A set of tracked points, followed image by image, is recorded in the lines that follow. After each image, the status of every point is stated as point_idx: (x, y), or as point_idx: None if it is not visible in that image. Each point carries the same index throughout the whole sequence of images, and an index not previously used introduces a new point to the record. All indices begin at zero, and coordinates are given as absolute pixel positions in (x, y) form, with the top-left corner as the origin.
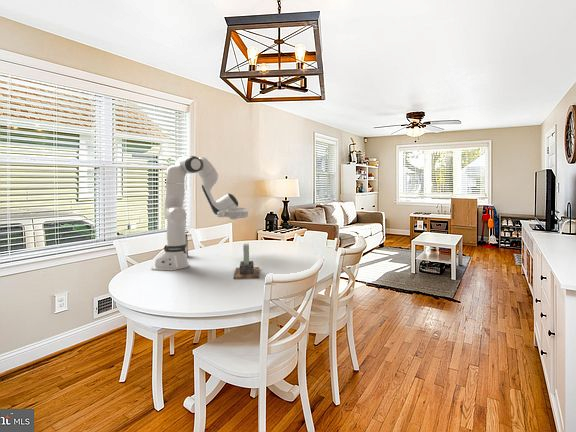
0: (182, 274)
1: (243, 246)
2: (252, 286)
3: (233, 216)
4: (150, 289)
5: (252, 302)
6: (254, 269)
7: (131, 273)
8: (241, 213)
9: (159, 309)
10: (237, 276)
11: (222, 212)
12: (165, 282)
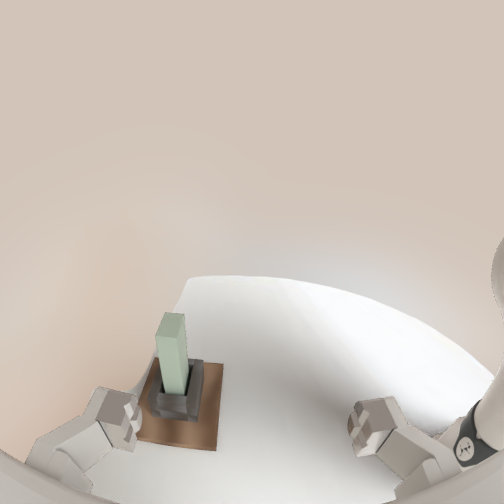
0: None
1: (184, 316)
2: None
3: None
4: (381, 331)
5: (195, 283)
6: (150, 411)
7: None
8: (63, 431)
9: (315, 284)
10: (211, 364)
11: (469, 468)
12: (383, 359)
